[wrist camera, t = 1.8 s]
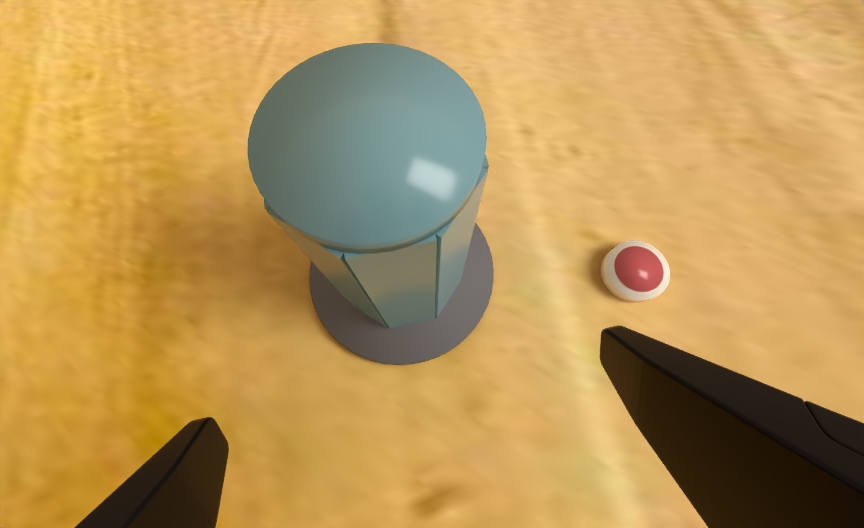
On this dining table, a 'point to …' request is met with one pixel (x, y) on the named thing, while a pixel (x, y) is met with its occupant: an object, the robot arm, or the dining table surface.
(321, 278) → the disc
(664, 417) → the robot arm
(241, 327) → the dining table surface
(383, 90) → the blue-grey tall faceted cylinder
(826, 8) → the dining table surface
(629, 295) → the dip bowl
